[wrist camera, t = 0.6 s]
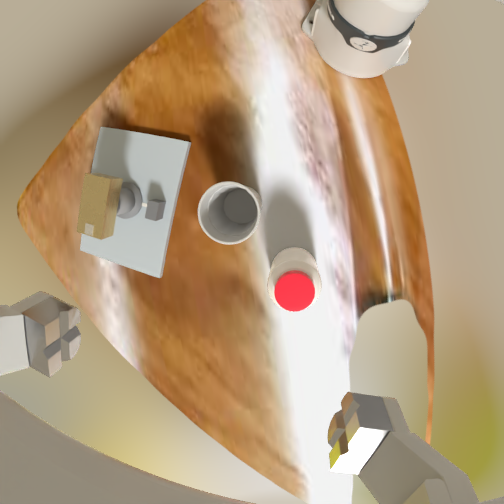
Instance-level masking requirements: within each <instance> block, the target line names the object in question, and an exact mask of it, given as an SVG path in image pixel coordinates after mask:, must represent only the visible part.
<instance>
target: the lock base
mask: <svg viewBox="0 0 504 504" xmlns="http://www.w3.org/2000/svg"><path fill="white" fill-rule="evenodd" d="M190 145H191V142H187V141H182V140H177V139H172V138H167V137H162V136H156V135H151V134H145V133H139V132H133V131H127V130H121V129H114V128H107V127H101V128H100V132H99V136H98V141H97V145H96V150H95V154H94V159H93V164H92V169H91V173H101V174H106V175H110V176H114V177H119V178H123V181H122V186H121V191H120V197H119V198H120V209H119V212H118V213H117V214H116V220H115V226H114V233H113V236H110V237H107V238H105V239H102V240H100V239H97V238H94V237H91V236H88V235H85V234H82V237H81V246H80V250H81V251H84V252H86V253H89V254H92V255H95V256H97V257H100V258H103V259H106V260H108V261H111V262H114V263H117V264H120V265H122V266H125V267H128V268H131V269H134V270H137V271H140V272H143V273H146V274H149V275H152V276H155V277H158V278H161V277H162V274H163V269H164V263H165V258H166V252H167V247H168V242H169V237H170V232H171V227H172V222H173V218H174V213H175V208H176V204H177V199H178V195H179V190H180V186H181V182H182V178H183V173H184V169H185V165H186V161H187V157H188V153H189V149H190Z"/></svg>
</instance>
